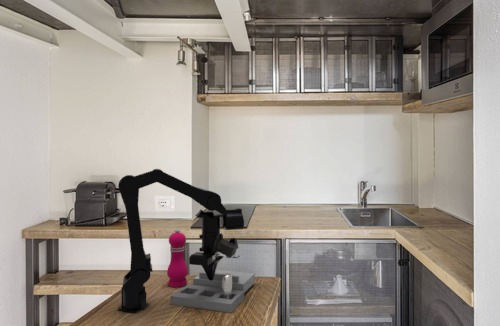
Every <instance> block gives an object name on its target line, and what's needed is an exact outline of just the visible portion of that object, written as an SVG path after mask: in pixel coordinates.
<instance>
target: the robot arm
mask: <svg viewBox="0 0 500 326" xmlns="http://www.w3.org/2000/svg"><path fill="white" fill-rule="evenodd" d="M155 183H159V184H160V185H162V186H165V187H167V188H169V189H171V190H174V191H175V192H177V193H180V194H182V195H184V196H186V197H189V198H190V199H192V200H193V201H195V202H197V204H199V205H201V206H202V208H205V209H206V210H208V211H204V210H203V209H199V211H198V212H197V213H195V217H196V218H197V219H201V233H200V234H199V236H198V237H199V238H198V239H201V247H200V248H199V251H196V252H194V253H192V254H191V255H190V256H189V257H188V264H189V265H194V266H201V267H202V269H203V272H204V271H205V273H206V275H207V277H208V279H209V280H211V281H212V280H213V278H214V275H215V271H216V270H217V268H218V264H219V262H220V261H221V260H222V259H223V258H224V256H223V255H225V257H226V258H232V257H233V256H235V255H236V252H237V250H238V249H239V243H238V238H235V237H232V238H230V239H227V238H226V239H225V238H224V234H223V233H222V232H221V228H224V231H233V230H234V231H235V230H243V229H244V226H245V219H244V215H243V209H242V208H241V207H239V208H229V209H226V207H225V206H224V205H223V203H222V198H221V195H220V194H218V193H217V192H215V191H212V190H207V189H204V188H201V187H197V186H194V185H192V184H189V183H188V182H185V181H183V180H181V179H179V178H177V177H175V176H173V175H171V174H169V173H166V172H164V171H163V170H162V169H160V168H154V169H153V170H150V171H147V172H144V173H141V174H137V175H132V174H125V175H124V176H122V178H121V179H120V180H119V181H118V190H119V193H120V196H121V199H122V202H123V204H124V206H125V207H124V208H125V214H126V222H127V229H128V237H129V238H128V240H129V245H130V246H129V247H130V252H131V256H130V270H129V271H128V272H127V273H126V274H125V275H124V276H123V279H122V280H123V281H122V286H121V290H120V291H121V293H120V294H121V296H120V298H121V299H120V301H121V303H120V304H121V306H119V307H118V308H117V310H118V311H122V312H128V313H134V314H135V313H138V312H139V311H141V310H143V309H144V308H146V307H148V306H149V302H147V291H146V285H145V283H147V282H148V281H149V279H150V278H151V273H152V272H153V271H154V270H153V264H152V256H151V253H146V251H145V249H144V241H143V233H142V226H141V217H140V210H139V209H140V208H139V193H140V189H143V188H145V187H147V186H151V185H153V184H155ZM214 211H216V212H217V213H214ZM220 254H222V255H220Z"/></svg>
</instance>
